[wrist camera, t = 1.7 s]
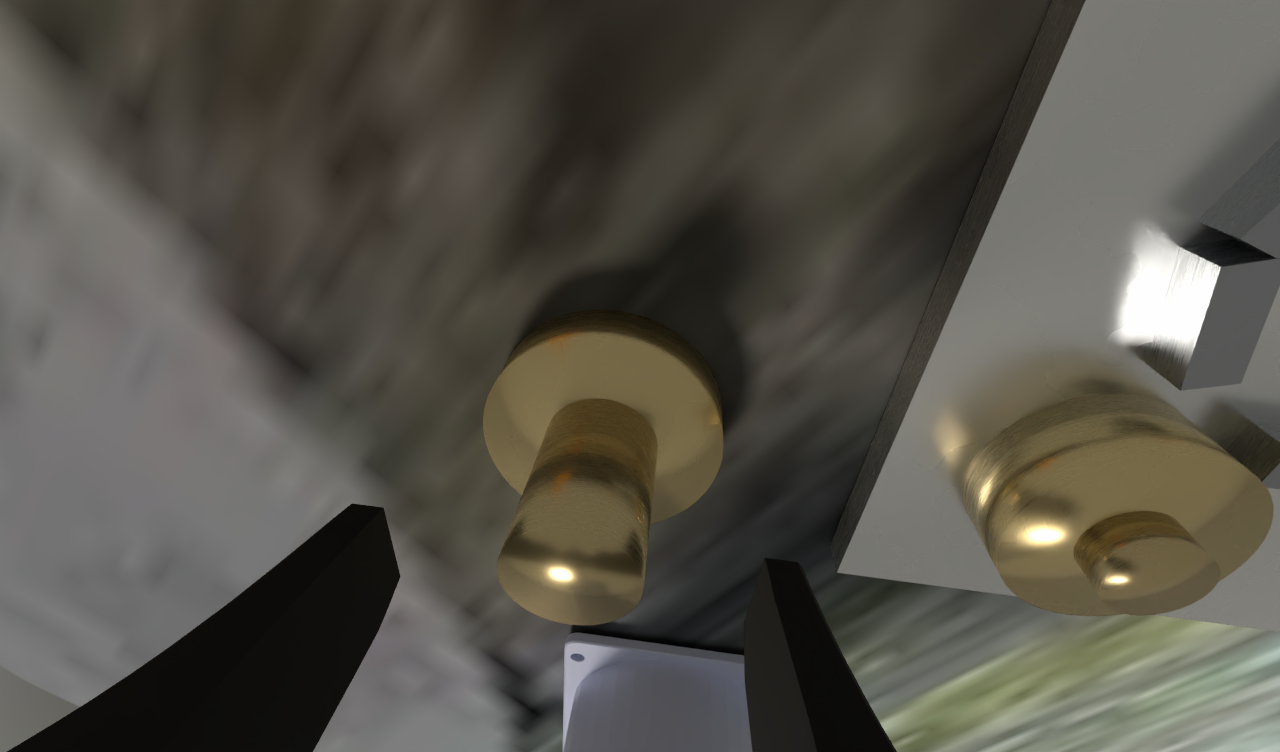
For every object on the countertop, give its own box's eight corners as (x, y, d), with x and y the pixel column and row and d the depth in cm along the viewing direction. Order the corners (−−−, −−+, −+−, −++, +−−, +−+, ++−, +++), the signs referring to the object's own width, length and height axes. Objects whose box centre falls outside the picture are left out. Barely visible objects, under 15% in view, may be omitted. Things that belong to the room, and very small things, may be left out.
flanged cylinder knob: (703, 501, 17) (704, 686, 12) (506, 475, 17) (433, 647, 12) (740, 324, 13) (760, 486, 9) (495, 295, 14) (388, 438, 9)
